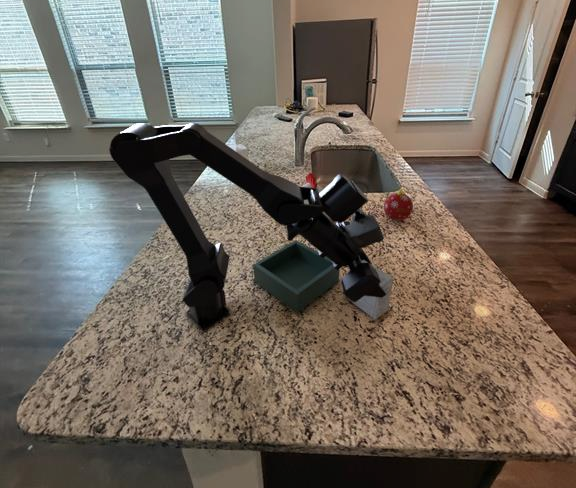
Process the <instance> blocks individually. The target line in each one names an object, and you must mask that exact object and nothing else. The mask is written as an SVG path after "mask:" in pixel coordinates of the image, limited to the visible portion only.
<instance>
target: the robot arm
mask: <svg viewBox="0 0 576 488" xmlns="http://www.w3.org/2000/svg"><path fill="white" fill-rule="evenodd" d="M108 151H109V155H110V157H111V159H112V160H113V162H114V163H115V164H116V165H117V167H119V169H120V170H121V171H122V172H123V173H124V175H125V176H126V177H127V178H128V179H130V180H131V181H133V182H134V183H135V184H137V185H139V186H141V187H142V188H143V189H144V190H145V192H146V193H147V195H148V196H149V198H150V199H151V201H152V202H153V204H154V206H155V208H156V209H157V211H158V212H159V215H160V216H161V218H162V219H163V221H164V222H165V224H166V226H167V227H168V230H169V231H170V232H171V234H172V236H173V237H174V239H175V240H176V242H177V244H178V246H179V248H180V249H181V251H182V252H183V254H184V256H185V259H186V265H187V273H188V276H189V279H188V283H187V286H186V288H185V291H184V295H183V297H182V301H183V302H184V304H185V305H186V306H187V307H188V310H187V311H186V314H187V316H188V317H189V318H190V319H191V320H192V321H193V323H194V324H196V325H197V327H198V328H199V329H200V330H201V331H205V330H207V329H208V328H210V327H211V326H213V325H215V324H216V323H218V322H220V321H221V320H222V319H224V318H226V317H227V316H228V315H230V310H229V309H228V308H227V307H226V306H227V299H226V291H225V290H224V288H225V284H226V279H227V274H228V270H229V263H230V257H231V256H230V255H229V254H228V253H227V252H226V250H225V247H224V244H223V243H222V241H221V242H218V243H216V244H214V243H213V242H211V241H209V239H208V238H207V236H206V234H205V232H204V230H203V229H202V227H201V225H200V223H199V221H198V220H197V218H196V216H195V214H194V213H193V211H192V209H191V207H190V205H189V204H188V202H187V200H186V198H185V196H184V194H183V193H182V191H181V188H180V187H179V185H178V184H177V182H176V179H175V178H174V176H173V173H172V169H171V163H170V160H172V159H176V158H179V157H185V156H191V157H192V158H194V159H195V160H197V161H198V162H200V163H202V164H203V165H205V166H206V167H207V168H209V169H211V170H213V171H214V172H215V173H217V174H218V175H220V176H222V177H223V178H224V179H226V180H228V181H229V182H231V183H232V184H233V185H235V186H237V187H238V188H240V189H241V190H243V191H244V192H246V193H247V194H249V195H250V196H251V197H252V198H253V199H254V200H255V201H256V202H257V203H258V205H259V206H260V207H261V209H262V210H263V211H264V212H265V213H266V214H267V215H268V216H269V217H270V218H271V219H273V220H274V221H275V222H276V223H277V224H278V225H281V226H285V228H286V236H287V237H286V238H287V241H289V242H292V240H294V239H295V238H296V237H297V236H298V235H300V236H301V237H302V238H303V239H304V240H305V241H307V242H308V243H309V244H310V245H311V246H313V247H314V248H315V249H317V252H319V256H321V257H322V258H324V257H325V256H326V257H328V258H329V259H330V260H331V261H332V262H333V265H334V268H335V269H337V270H339V269H340V270H341V269H342V268H346V267H348V270H349V269H350V272H349V271H348V272H347V273H346V274H344V275H343V276H341V281H340V282H341V287H342V290H343V293H344V296H345V298H346V297H347V298H348V299H349V300H348V299H347V298H346V299H347V300H348V301H350V300H351V301H352V302H357V301H358V300H359V299H361V298H362V297H363V296H372V297H381V298H382V297H384V296H385V295H386V292H385V291H384V290H383V288H382V287H381V286H380V285H379V284H380V281H381V280H380V278H379V275H378V273H377V271H376V269H374V268H373V267H372V265H373V263H372V262H371V260H370V258H369V257H368V255H367V254H366V252H365V250H364V249H363V248H366V247H369V246H371V245H375V244H377V243H378V244H379V243H381V242H383V241H384V239H385V236H384V234H383V231H382V229H381V226H380V223H379V222H378V220H377V219H376V217H375V216H374V215H373V214H371V213H370V212H368V213H366V212H365V211H364V210H362V209H361V208H363V206H365V205H366V204H367V203H368V202H369V199H368V197H367V196H366V193H364V191H362V189H361V188H360V187H359V186H358V185H357V184H356V183H355V182H354V181H353V180H351V179H349V177H347V176H344V174H342V173H341V172H340V173H339V174H337V175H336V176H335V177H334V178H333V180H332V181H331V182H330V183H329V184H328V185H327V186H325V188H323V189H324V190H323V191H321V192H320V193H319V191H318V189H317V188H310V187H301V186H300V185H298V184H297V183H296V182H293V181H290V180H289V179H287V178H285V177H282V176H280V175H277V174H273V173H269V172H267V171H265V170H263V169H262V168H260V167H259V166H257V165H256V164H255V163H253V162H252V161H250V160H249V159H248V160H247V159H246V158H244V157H243V156H242V155H240V154H239V153H237V152H236V151H234V150H233V149H232V148H231V146H229V145H227V144H226V143H224V142H223V141H221V140H220V139H218V138H217V136H215V135H214V134H212V133H211V132H209V131H208V130H207V129H206V128H205V127H204V126H203V125H201V124H199V123H196V122H193V123H192V122H191V123H188V124H179V125H178V124H176V125H175V124H172V125H170V124H169V125H168V124H166V125H160V126H159V125H158V126H153V125H150V124H148V123H144V122H143V123H142V122H140V123H136V124H133V125H132V126H130V127H128V128H126V129H125V130H123V131H120V132H119V133H118V134H116V135H115V136H113V138H112V139H111V141H110V145H109V147H108ZM304 200H308V202H309V204H304ZM323 212H325V213H326V214H327V215H328V216H329V217H330V218H331V219H332V220H331V219H330V218H328V217H327V216H326V215H325V214H324V213H323ZM350 217H351V219H350ZM348 219H350V220H349V221H347V220H348ZM335 222H336V223H335ZM362 260H365V261H366V263H362V262H361V261H362ZM369 263H370V264H371V265H370V264H369ZM351 301H350V302H351ZM352 302H351V303H352Z"/></svg>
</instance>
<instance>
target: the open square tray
mask: <svg viewBox="0 0 576 488" xmlns="http://www.w3.org/2000/svg"><path fill="white" fill-rule="evenodd" d="M252 267H253V279H254V282H255V283H256V284H257V285H259V286H260V287H261V288H262V289H264V290H265V291H267V292H268V293H269V294H271V295H272V296H273V297H274V298H276V299H277V300H279V301H280V302H282V303H283V304H284V305H286V306H287V307H288V308H290V309H291V310H292V311H293V312H296V313H297V314H298V313H299V312H301V311H302V310H303V309H305V308H306V307H307V306H308V305H310V304H311V303H312V302H313V301H315V300H317V298H318V297H320V296H321V295H323V294H324V293H325V292H326V291H328V290H329V289H330V288H332V287H333V286H334V285H335V284H337V283H338V282H339V281H340V270H341V268H340V269H339V270H337V269H335V268H334V265H333V262H332V261H331V260H330V259H329V258H328V257H326V256H325V257H324V258H322V257H321V256H319V252H318V250H316V249H314V248H311V247H310V246H308V245H306V244H304V243H303V242H300V241H298V240H297V239H295V240H294V241H291V242H290V243H288V244H286V245H285V246H283V247H281V248H280V249H278V250H276V251H274V252H272V253H270V254H268V255H267V256H266V257H263V258H262V259H260V260H258V261H256V262H255V263H253V264H252Z"/></svg>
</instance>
